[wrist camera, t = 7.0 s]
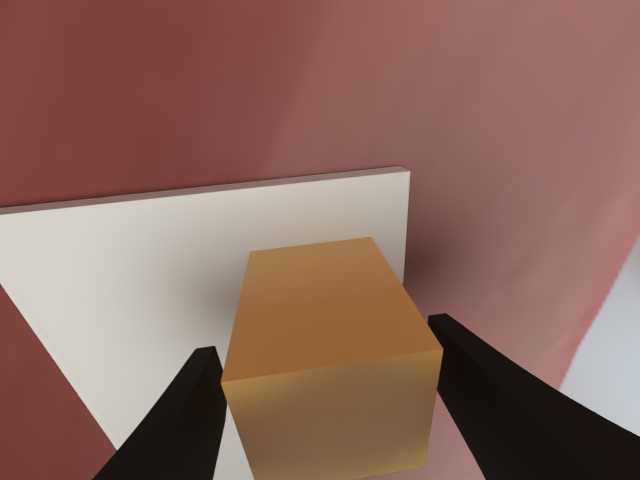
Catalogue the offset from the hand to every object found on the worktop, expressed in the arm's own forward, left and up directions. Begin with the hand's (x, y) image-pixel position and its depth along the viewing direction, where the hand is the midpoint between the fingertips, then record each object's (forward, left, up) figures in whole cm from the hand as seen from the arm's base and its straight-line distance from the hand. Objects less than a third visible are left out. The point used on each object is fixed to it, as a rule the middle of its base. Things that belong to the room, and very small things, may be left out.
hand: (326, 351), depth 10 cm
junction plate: (-5, +4, -4) cm, 8 cm away
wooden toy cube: (0, 0, -3) cm, 3 cm away
